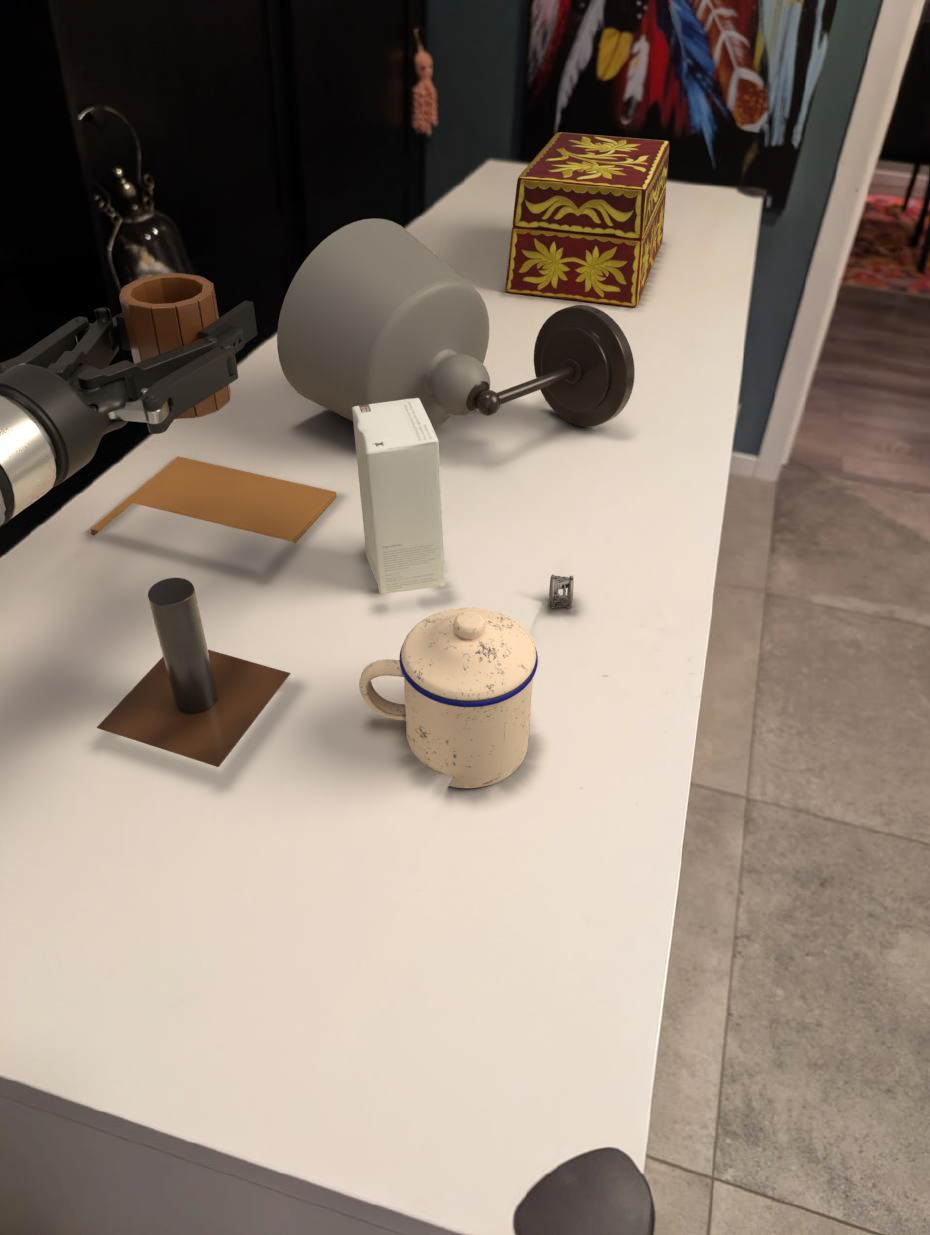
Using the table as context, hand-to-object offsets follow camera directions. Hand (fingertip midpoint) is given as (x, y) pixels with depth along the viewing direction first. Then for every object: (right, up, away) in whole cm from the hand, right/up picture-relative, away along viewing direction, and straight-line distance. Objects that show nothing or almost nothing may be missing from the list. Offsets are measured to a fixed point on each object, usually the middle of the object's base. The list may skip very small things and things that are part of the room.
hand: (210, 310), depth 78 cm
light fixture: (+19, -5, +25) cm, 32 cm away
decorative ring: (+29, -24, +3) cm, 38 cm away
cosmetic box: (+15, -21, +6) cm, 27 cm away
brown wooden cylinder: (-2, -7, 0) cm, 7 cm away
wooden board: (-3, -15, +13) cm, 20 cm away
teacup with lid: (+19, -34, -9) cm, 40 cm away
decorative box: (+39, +27, +64) cm, 80 cm away
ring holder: (+1, -32, -7) cm, 33 cm away
